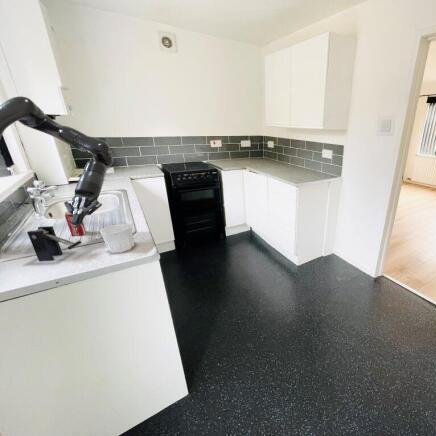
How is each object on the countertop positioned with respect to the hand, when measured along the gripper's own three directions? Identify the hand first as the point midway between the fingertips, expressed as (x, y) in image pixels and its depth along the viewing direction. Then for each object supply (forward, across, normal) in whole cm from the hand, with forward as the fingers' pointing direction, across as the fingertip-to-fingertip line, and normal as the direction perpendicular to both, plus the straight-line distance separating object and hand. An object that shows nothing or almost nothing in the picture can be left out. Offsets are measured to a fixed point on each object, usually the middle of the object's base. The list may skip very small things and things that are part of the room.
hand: (75, 224), depth 90 cm
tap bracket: (+11, +10, -7) cm, 17 cm away
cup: (+7, -12, -11) cm, 18 cm away
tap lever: (+6, +6, -2) cm, 9 cm away
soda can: (-5, +17, -23) cm, 29 cm away
